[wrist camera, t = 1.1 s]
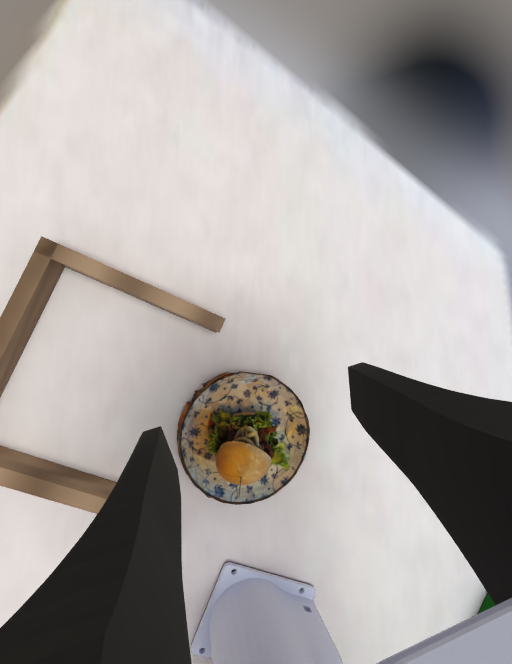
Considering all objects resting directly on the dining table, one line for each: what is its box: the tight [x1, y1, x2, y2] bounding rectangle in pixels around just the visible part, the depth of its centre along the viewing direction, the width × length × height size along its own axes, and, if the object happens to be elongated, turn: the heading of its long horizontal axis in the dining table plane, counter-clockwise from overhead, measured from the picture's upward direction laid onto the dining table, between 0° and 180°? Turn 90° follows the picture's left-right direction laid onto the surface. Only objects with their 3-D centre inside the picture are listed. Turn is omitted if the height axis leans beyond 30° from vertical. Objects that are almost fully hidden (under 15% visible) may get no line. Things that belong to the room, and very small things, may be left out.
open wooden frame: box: [0, 236, 225, 514], centre depth 26 cm, size 15×17×3 cm
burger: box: [177, 372, 310, 505], centre depth 27 cm, size 12×12×8 cm
